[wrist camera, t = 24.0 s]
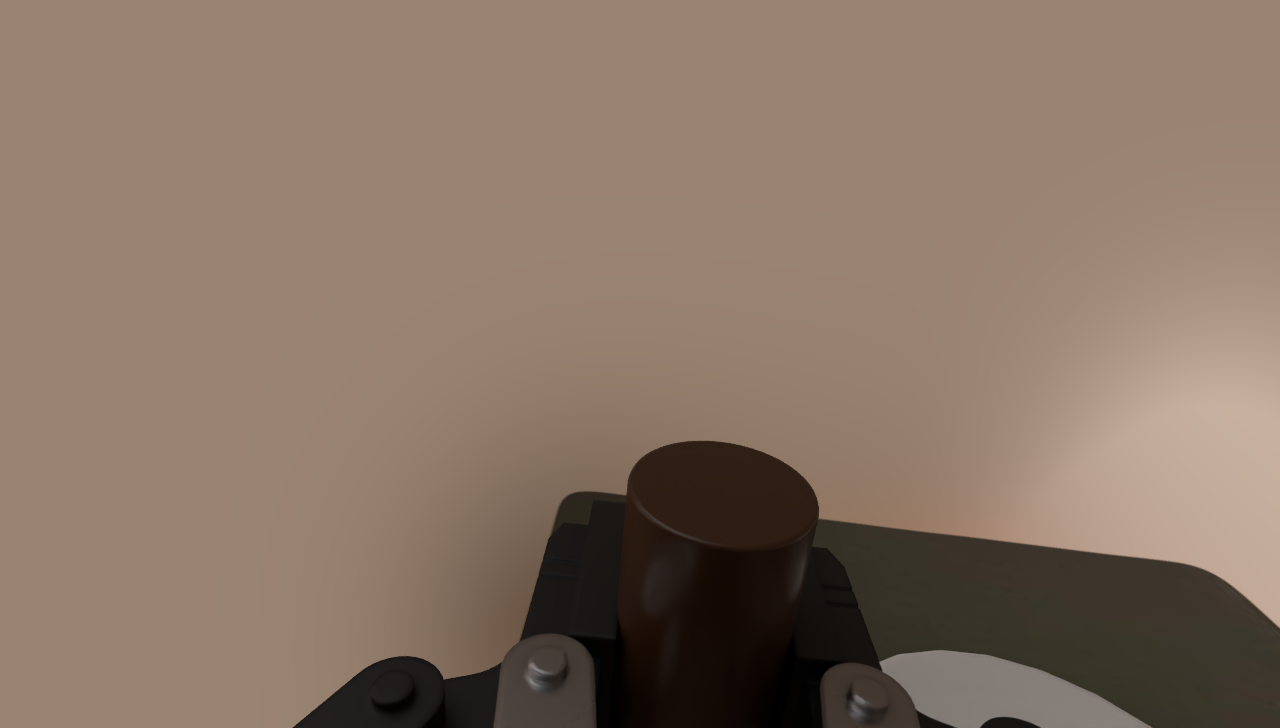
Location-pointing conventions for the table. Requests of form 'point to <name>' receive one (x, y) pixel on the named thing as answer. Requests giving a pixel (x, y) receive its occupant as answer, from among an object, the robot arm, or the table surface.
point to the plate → (998, 692)
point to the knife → (708, 586)
